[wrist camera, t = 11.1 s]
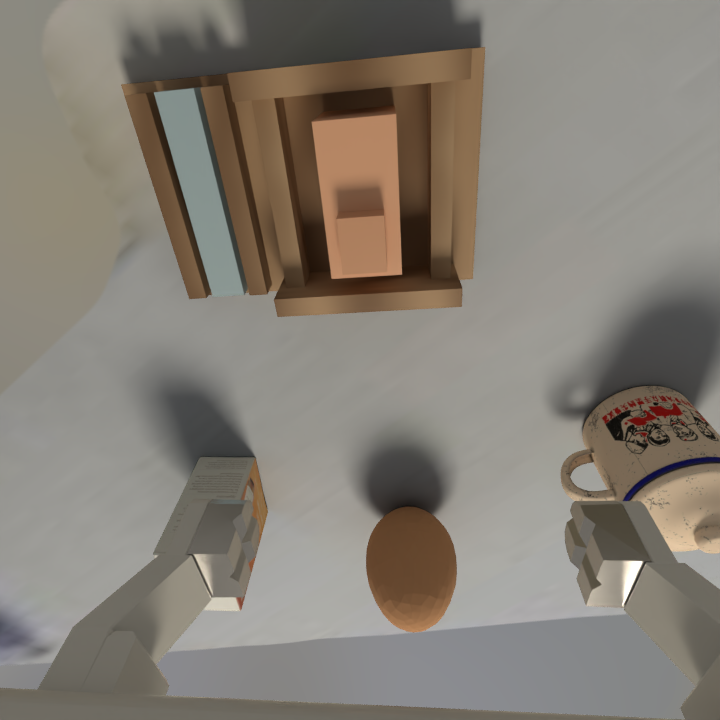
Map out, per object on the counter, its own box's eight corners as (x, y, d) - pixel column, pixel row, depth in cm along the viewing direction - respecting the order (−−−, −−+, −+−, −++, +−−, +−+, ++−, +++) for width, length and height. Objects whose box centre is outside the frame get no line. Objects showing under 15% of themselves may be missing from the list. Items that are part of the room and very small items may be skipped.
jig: (481, 47, 25) (501, 44, 20) (469, 272, 32) (483, 305, 27) (131, 83, 26) (81, 88, 22) (194, 288, 34) (166, 323, 29)
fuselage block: (394, 105, 25) (396, 116, 20) (399, 244, 30) (402, 283, 25) (323, 111, 26) (308, 124, 21) (339, 248, 30) (329, 287, 25)
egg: (406, 473, 43) (412, 588, 34) (466, 512, 46) (487, 629, 37) (351, 514, 47) (342, 628, 38) (409, 548, 50) (415, 662, 40)
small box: (269, 510, 47) (242, 613, 38) (216, 510, 48) (177, 611, 39) (256, 455, 43) (223, 556, 34) (198, 454, 43) (150, 555, 34)
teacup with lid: (699, 371, 35) (818, 488, 26) (686, 453, 40) (783, 578, 30) (540, 399, 38) (594, 516, 28) (546, 473, 42) (593, 596, 33)
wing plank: (202, 87, 25) (193, 88, 24) (249, 285, 32) (244, 294, 31) (165, 90, 25) (153, 92, 24) (219, 287, 32) (212, 296, 31)
